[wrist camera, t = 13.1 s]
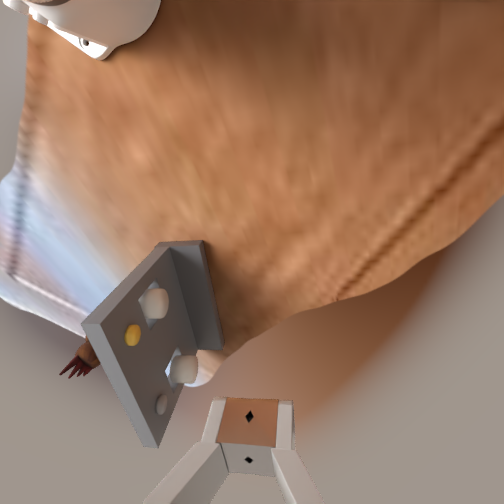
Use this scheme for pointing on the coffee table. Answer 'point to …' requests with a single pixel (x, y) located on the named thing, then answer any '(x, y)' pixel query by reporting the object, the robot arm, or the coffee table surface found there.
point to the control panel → (155, 333)
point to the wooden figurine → (83, 360)
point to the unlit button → (184, 369)
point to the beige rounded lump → (154, 303)
